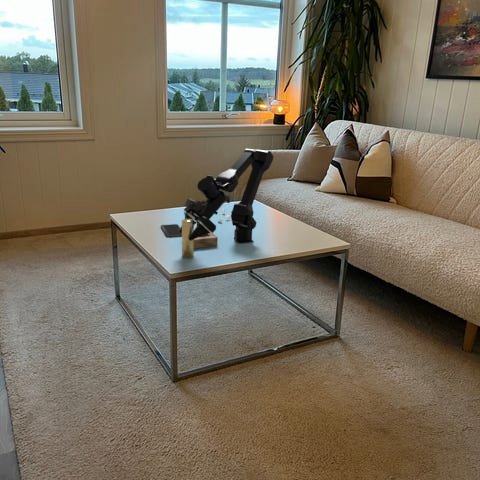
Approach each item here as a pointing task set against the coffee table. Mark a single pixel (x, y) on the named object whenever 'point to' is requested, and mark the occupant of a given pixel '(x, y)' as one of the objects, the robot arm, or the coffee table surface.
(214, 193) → the robot arm
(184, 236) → the peg
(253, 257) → the coffee table surface
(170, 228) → the phone
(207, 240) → the socket block
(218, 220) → the game piece set
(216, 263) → the coffee table surface
